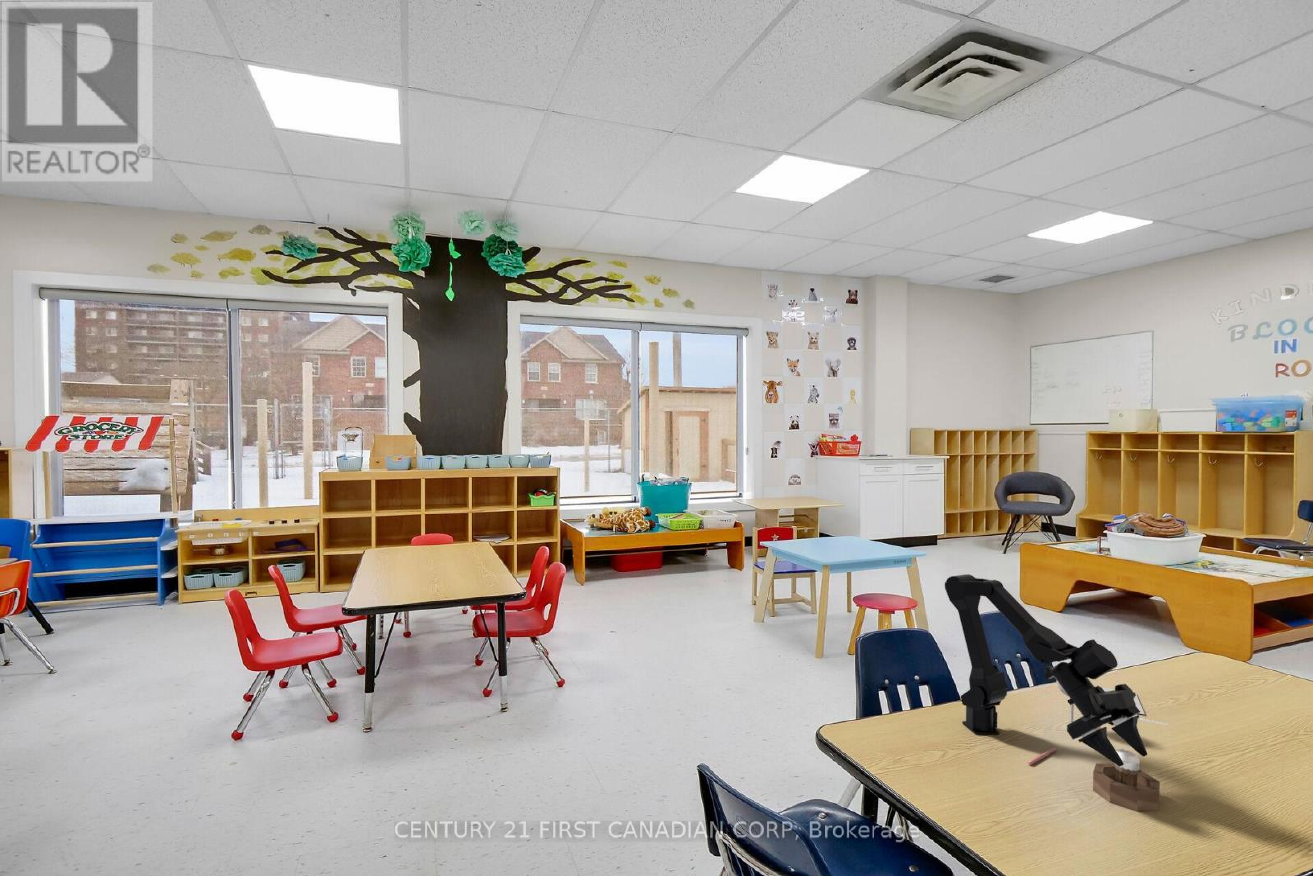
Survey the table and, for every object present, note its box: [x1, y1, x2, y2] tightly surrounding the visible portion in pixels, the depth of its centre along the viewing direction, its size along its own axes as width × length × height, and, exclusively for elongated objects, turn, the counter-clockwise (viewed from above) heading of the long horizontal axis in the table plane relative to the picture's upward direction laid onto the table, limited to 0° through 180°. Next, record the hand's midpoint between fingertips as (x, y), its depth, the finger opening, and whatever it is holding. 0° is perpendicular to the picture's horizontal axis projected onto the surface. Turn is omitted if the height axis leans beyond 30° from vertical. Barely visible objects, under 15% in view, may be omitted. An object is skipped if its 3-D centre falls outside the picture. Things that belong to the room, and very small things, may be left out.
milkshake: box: [1114, 748, 1141, 787], centre depth 134 cm, size 5×5×10 cm
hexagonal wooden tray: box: [1092, 762, 1161, 812], centre depth 134 cm, size 11×11×4 cm
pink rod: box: [1027, 747, 1057, 766], centre depth 150 cm, size 13×1×1 cm, turn 125°
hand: (1133, 760), depth 133 cm, fingers open, 9 cm apart
